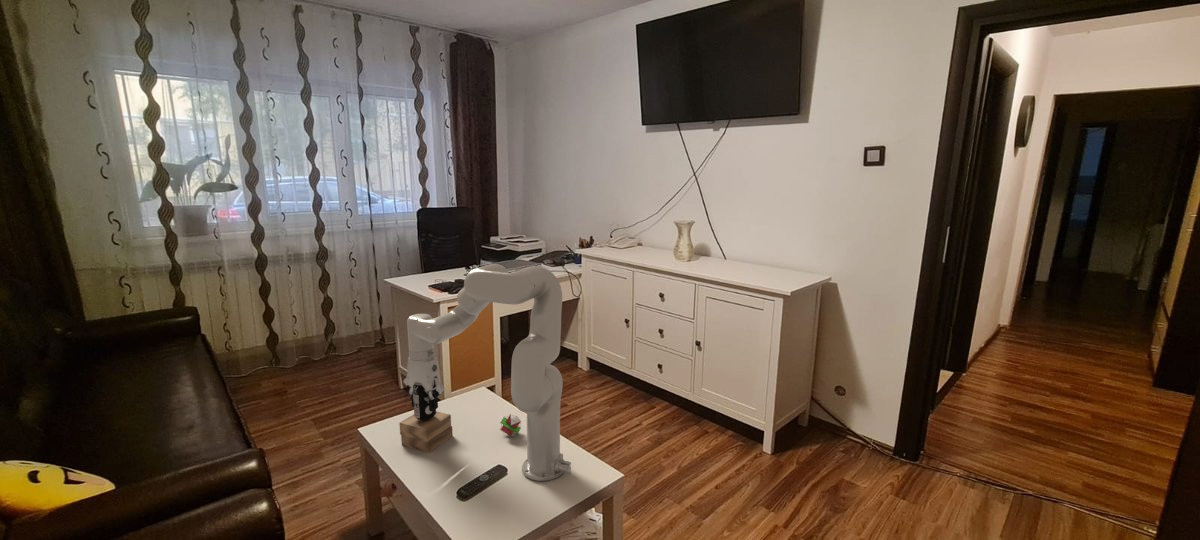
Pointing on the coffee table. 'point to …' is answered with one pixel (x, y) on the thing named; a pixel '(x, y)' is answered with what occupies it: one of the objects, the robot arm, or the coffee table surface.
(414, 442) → the walnut block lower
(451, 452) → the coffee table surface
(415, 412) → the beverage can
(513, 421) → the geometric puzzle
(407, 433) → the walnut block upper
